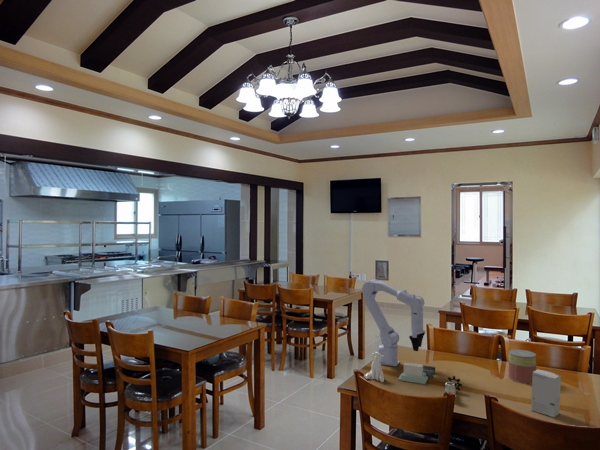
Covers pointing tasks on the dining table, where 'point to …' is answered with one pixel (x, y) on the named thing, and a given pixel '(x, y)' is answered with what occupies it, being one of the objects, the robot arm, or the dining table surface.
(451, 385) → the valve
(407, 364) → the white block
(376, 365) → the sitting furry creature
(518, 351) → the canned food
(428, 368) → the channel
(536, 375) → the skincare box
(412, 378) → the cradle
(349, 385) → the dining table surface
